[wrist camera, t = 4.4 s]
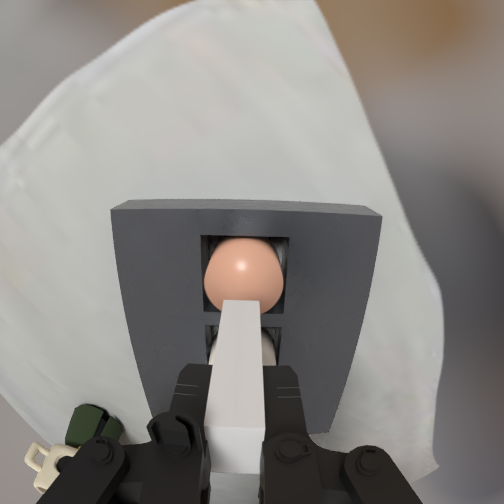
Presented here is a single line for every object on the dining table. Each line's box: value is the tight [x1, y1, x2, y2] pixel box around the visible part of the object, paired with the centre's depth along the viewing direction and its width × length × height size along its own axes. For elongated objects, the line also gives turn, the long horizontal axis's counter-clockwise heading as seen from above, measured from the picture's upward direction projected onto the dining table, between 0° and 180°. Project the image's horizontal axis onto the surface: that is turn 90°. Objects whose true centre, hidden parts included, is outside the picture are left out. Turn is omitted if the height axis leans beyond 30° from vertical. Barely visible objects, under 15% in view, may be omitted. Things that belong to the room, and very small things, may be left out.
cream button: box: [209, 327, 276, 366], centre depth 19 cm, size 4×4×4 cm
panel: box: [110, 199, 382, 434], centre depth 21 cm, size 20×16×3 cm
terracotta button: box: [204, 235, 283, 315], centre depth 18 cm, size 4×4×4 cm
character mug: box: [25, 405, 122, 494], centre depth 21 cm, size 11×7×13 cm, turn 47°
